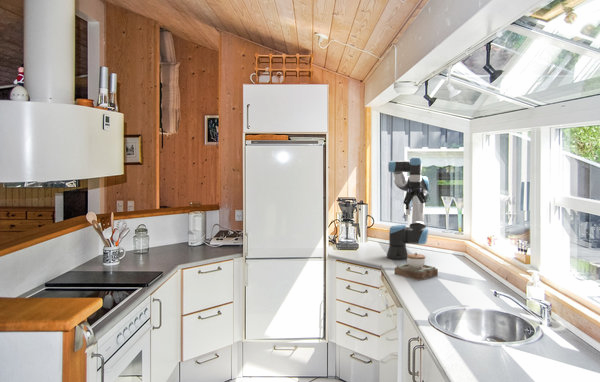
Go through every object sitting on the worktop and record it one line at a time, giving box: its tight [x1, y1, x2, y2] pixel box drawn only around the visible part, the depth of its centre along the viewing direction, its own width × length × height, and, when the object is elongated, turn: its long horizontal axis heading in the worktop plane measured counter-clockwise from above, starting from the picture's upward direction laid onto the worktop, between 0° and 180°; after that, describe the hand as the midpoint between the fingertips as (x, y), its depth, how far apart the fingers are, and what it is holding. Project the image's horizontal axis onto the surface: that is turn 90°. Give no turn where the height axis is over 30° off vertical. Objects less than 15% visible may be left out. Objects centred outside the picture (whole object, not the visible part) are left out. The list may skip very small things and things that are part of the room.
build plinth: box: [394, 263, 439, 281], centre depth 261 cm, size 18×18×5 cm
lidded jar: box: [406, 252, 426, 269], centre depth 260 cm, size 11×11×9 cm
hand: (414, 213), depth 281 cm, fingers open, 13 cm apart
